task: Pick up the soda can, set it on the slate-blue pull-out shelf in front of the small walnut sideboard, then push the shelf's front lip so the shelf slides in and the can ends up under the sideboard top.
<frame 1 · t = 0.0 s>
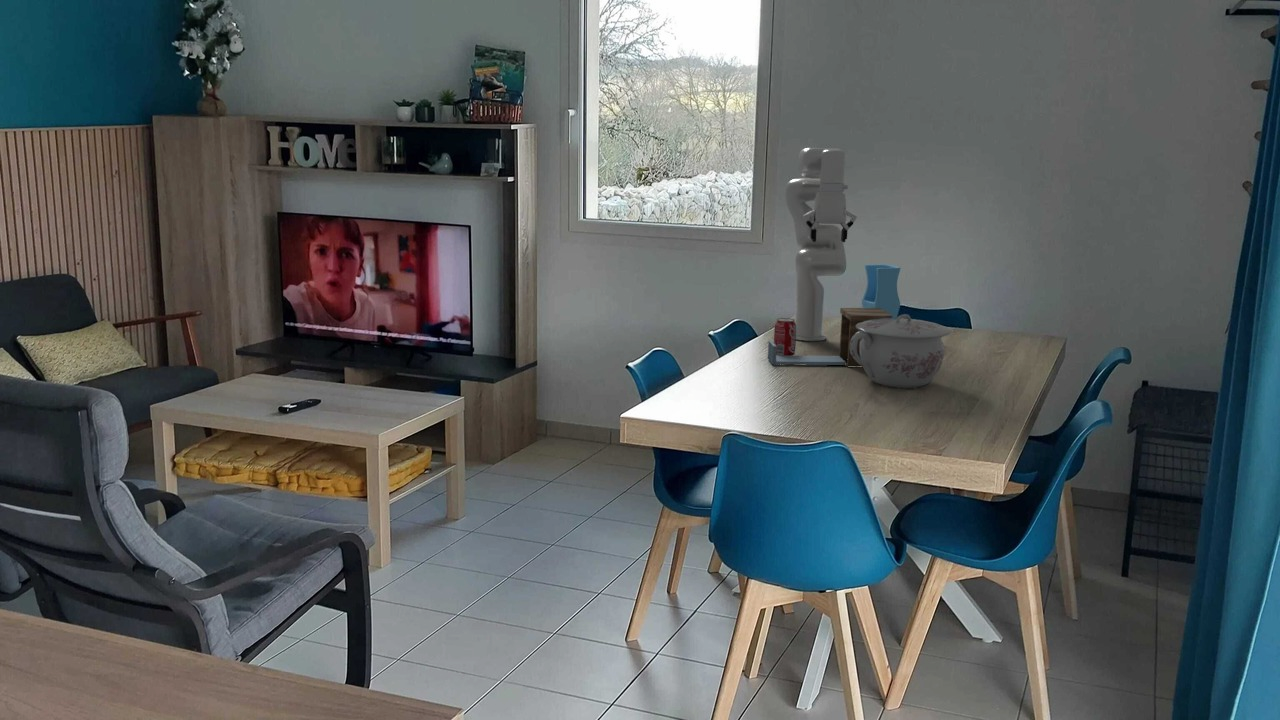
hand: (828, 241, 372), 37 cm above the table, tool pointing down, fingers open, 9 cm apart
chamber pot: (898, 383, 338), on the table
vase: (878, 336, 411), on the table
shelf board: (806, 353, 362), point 3 cm above the table, slide at 0.0 cm
soda can: (784, 356, 373), on the table
sideboard: (862, 363, 364), on the table
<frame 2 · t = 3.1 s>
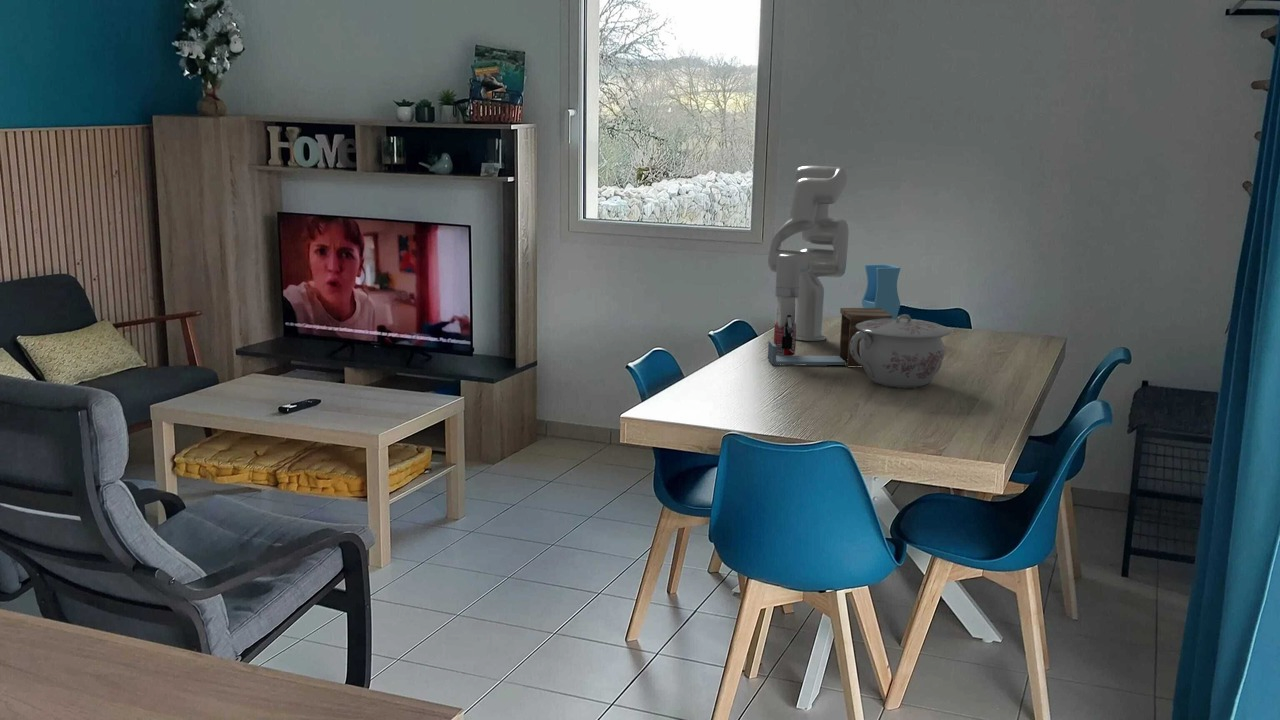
hand: (784, 345, 372), 3 cm above the table, tool pointing down, fingers closed on soda can, 6 cm apart
soda can: (784, 356, 373), on the table, touching gripper
everything else where it was.
when the fingers open (6 cm above the table, at t = 11.0 s): soda can stays where it is, resting on shelf board.
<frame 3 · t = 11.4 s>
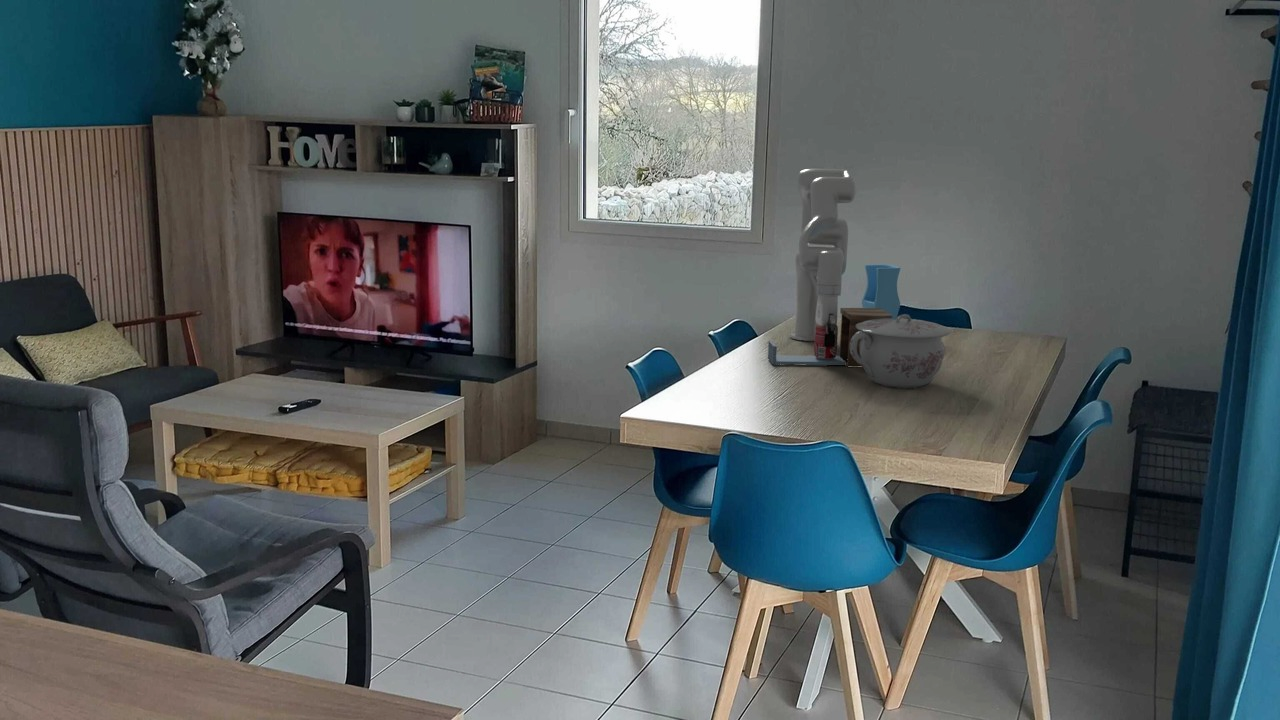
hand: (825, 343, 362), 6 cm above the table, tool pointing down, fingers open, 9 cm apart
shelf board: (806, 353, 362), point 3 cm above the table, slide at 0.0 cm, touching soda can
soda can: (824, 359, 363), point 1 cm above the table, touching shelf board
everything else where it was.
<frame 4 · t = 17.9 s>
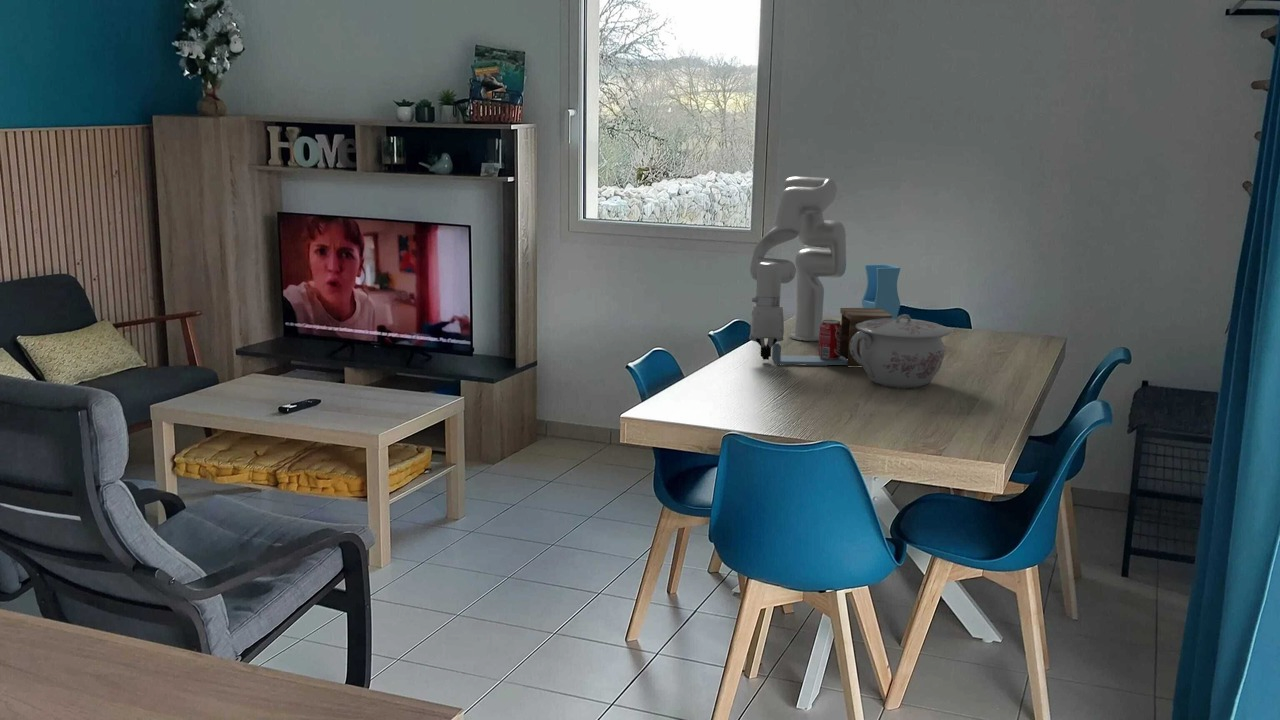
hand: (765, 358, 362), 1 cm above the table, tool pointing down, fingers closed
shelf board: (810, 353, 362), point 3 cm above the table, slide at 1.4 cm, touching gripper, soda can
soda can: (829, 359, 363), point 1 cm above the table, touching shelf board
everything else where it was.
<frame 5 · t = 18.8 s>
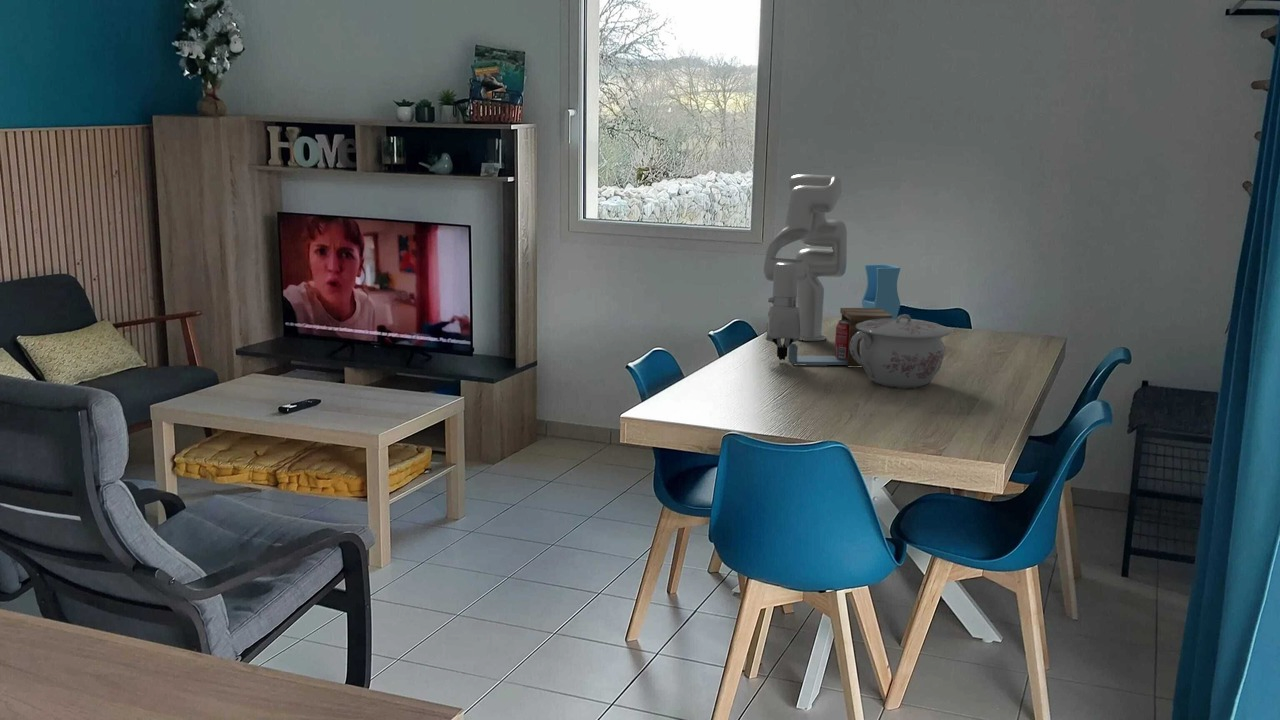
hand: (781, 358, 362), 1 cm above the table, tool pointing down, fingers closed
shelf board: (827, 353, 362), point 3 cm above the table, slide at 6.6 cm, touching gripper, soda can
soda can: (845, 359, 363), point 1 cm above the table, touching shelf board
everything else where it was.
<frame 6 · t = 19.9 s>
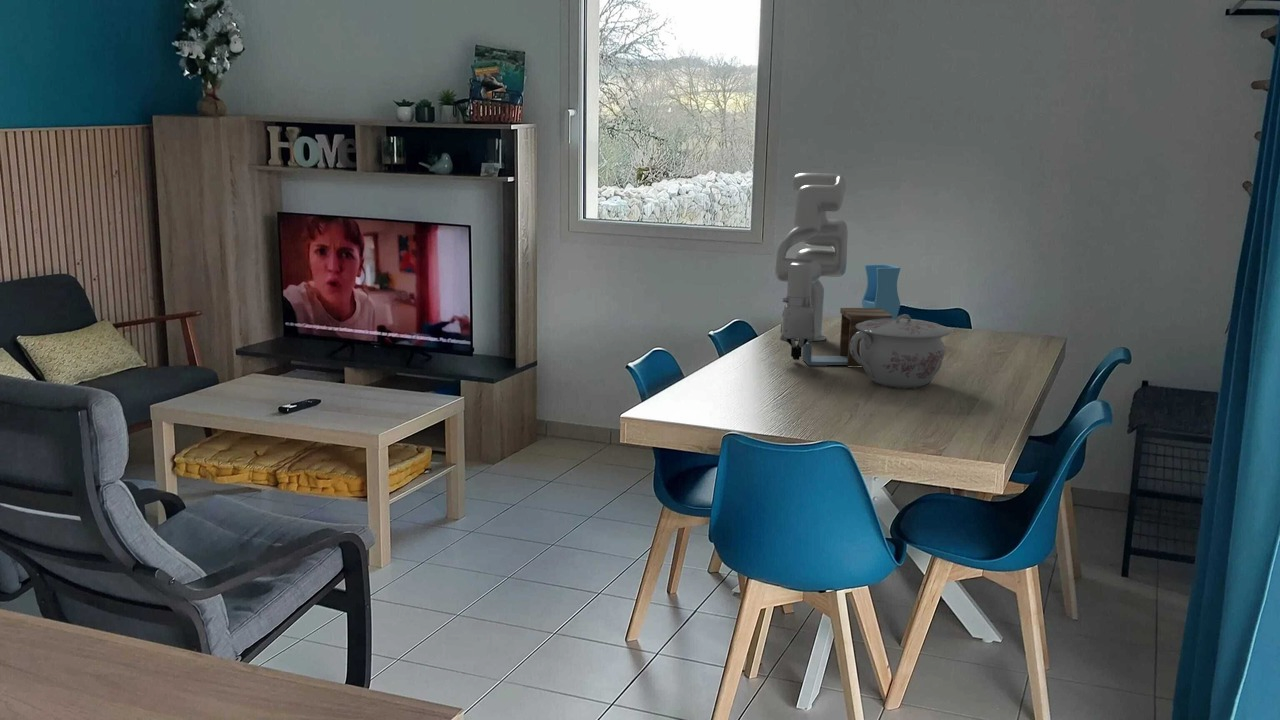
hand: (795, 358, 362), 1 cm above the table, tool pointing down, fingers closed
shelf board: (841, 353, 363), point 3 cm above the table, slide at 11.1 cm, touching gripper, soda can
soda can: (859, 359, 364), point 1 cm above the table, touching shelf board
everything else where it was.
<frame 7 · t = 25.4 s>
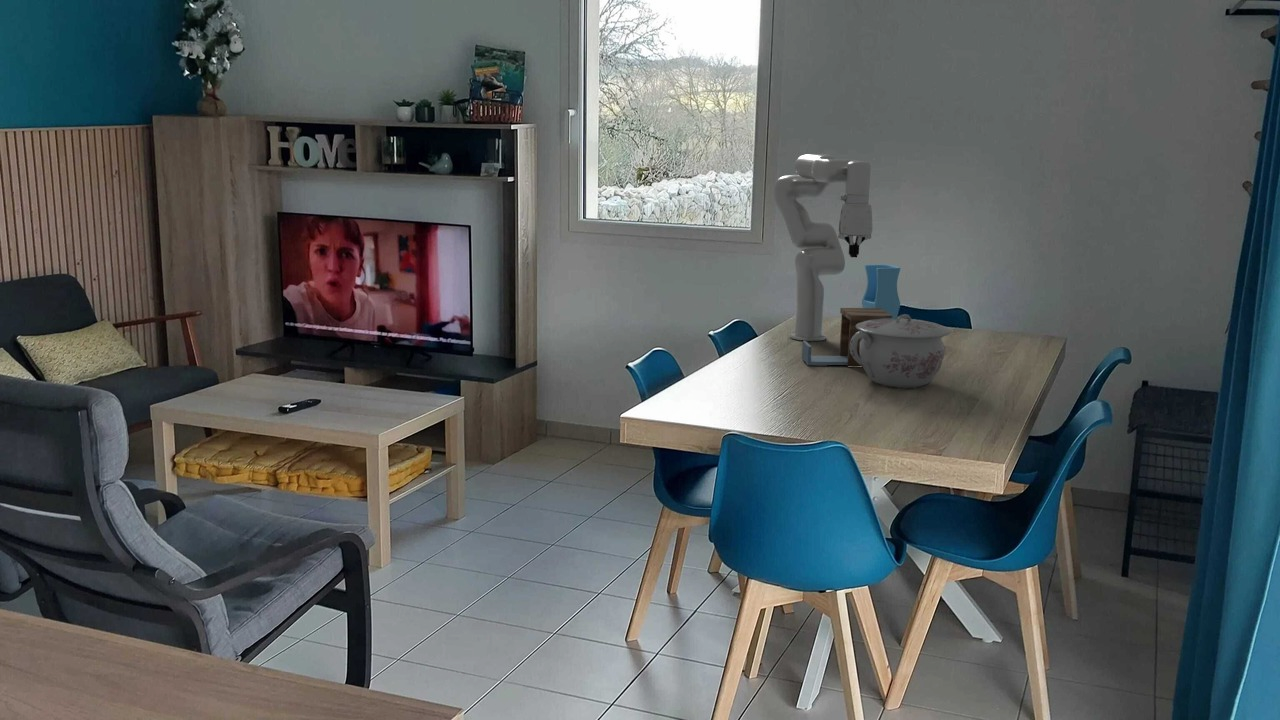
hand: (853, 256, 371), 32 cm above the table, tool pointing down, fingers closed
shelf board: (840, 353, 363), point 3 cm above the table, slide at 11.0 cm, touching soda can
everything else where it was.
at the end: shelf board slide at 11.0 cm; soda can inside the target area on the sideboard (0.5 cm from its centre), point 1.2 cm above the sideboard's base; soda can tilted 0° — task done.
